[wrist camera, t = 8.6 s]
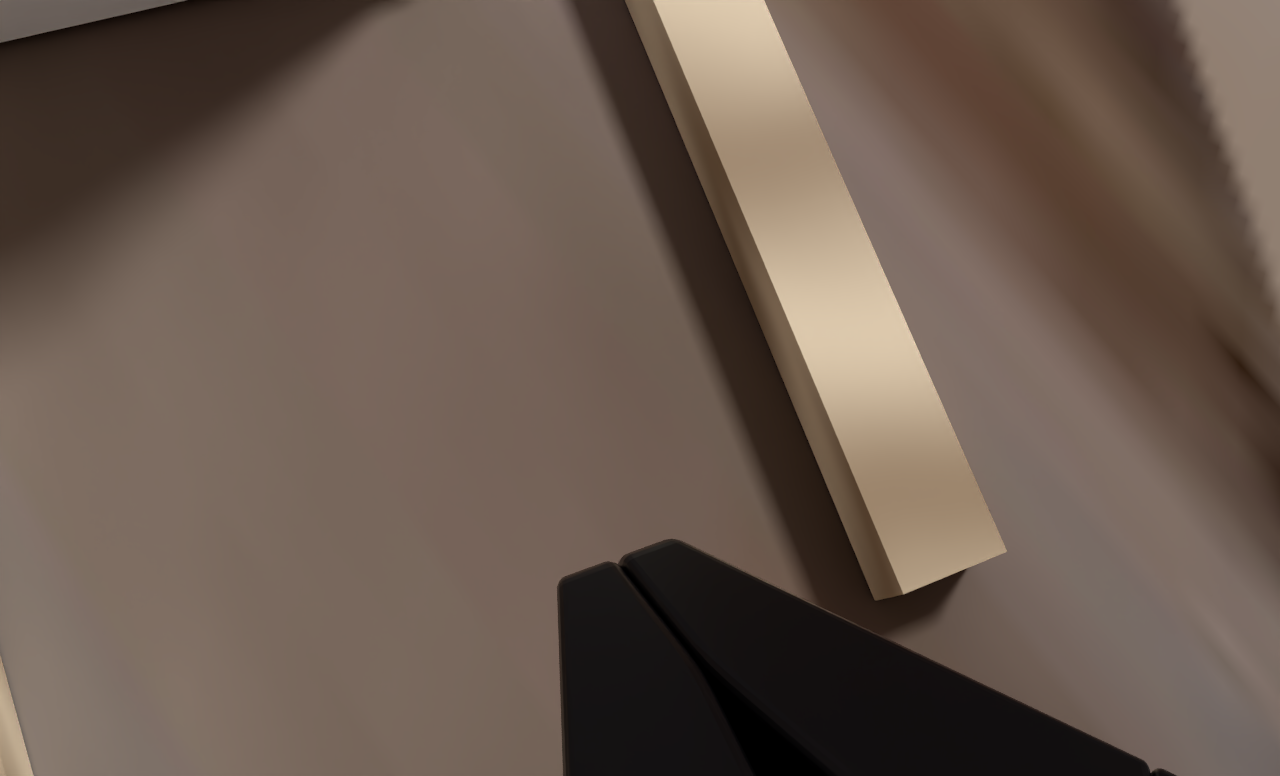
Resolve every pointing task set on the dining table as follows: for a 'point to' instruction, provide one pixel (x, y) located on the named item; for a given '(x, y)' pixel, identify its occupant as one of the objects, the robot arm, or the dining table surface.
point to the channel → (800, 304)
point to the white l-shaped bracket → (62, 14)
